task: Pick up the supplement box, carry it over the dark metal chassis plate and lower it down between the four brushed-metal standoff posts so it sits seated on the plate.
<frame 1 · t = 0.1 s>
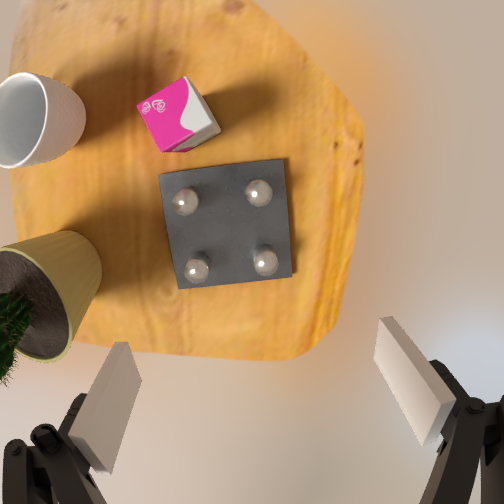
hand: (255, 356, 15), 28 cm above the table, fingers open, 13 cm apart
mug: (63, 119, 35), on the table
chassis: (227, 225, 41), on the table
potted cactus: (72, 265, 42), on the table
supplement box: (192, 123, 37), on the table
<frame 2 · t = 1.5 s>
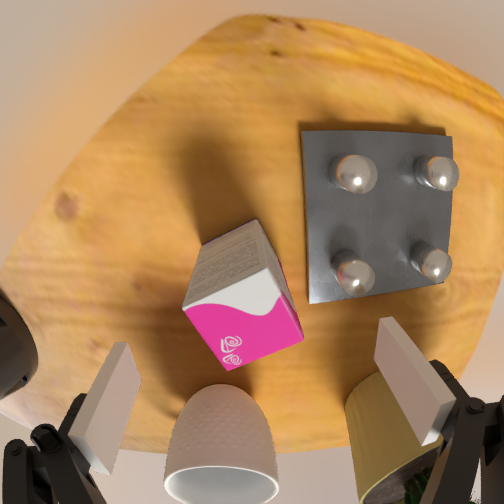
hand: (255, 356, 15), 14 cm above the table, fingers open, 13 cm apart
mug: (217, 405, 35), on the table
chassis: (384, 214, 28), on the table
potted cactus: (382, 395, 36), on the table
supplement box: (242, 257, 29), on the table
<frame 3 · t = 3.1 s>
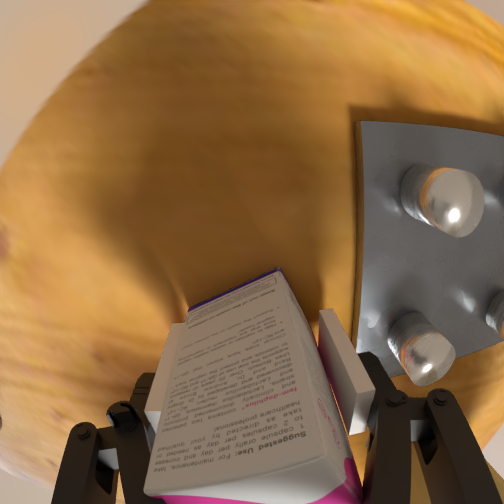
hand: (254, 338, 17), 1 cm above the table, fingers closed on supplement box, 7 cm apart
chassis: (462, 255, 17), on the table
potted cactus: (418, 458, 25), on the table
supplement box: (253, 325, 18), on the table, touching gripper
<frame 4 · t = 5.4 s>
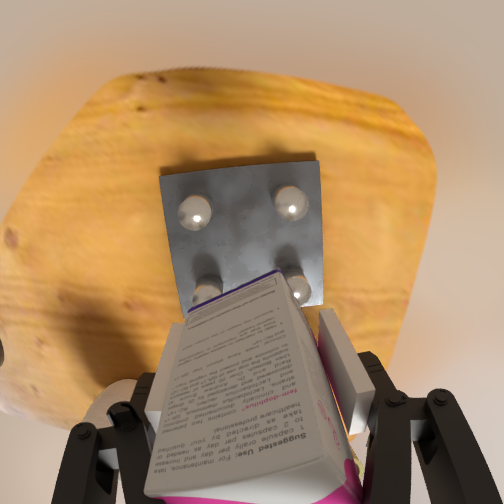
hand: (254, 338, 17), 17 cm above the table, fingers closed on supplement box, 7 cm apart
mug: (133, 397, 40), on the table
chassis: (246, 241, 33), on the table
supplement box: (253, 326, 18), point 16 cm above the table, touching gripper
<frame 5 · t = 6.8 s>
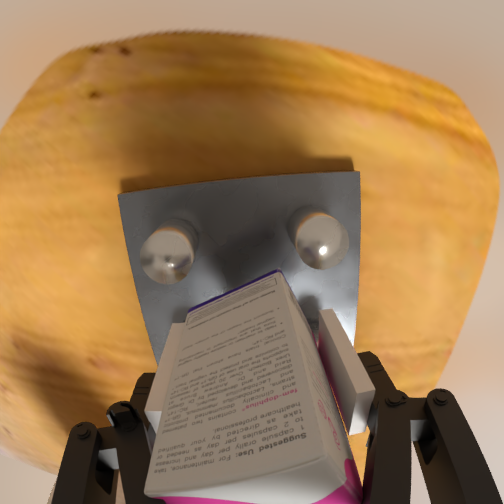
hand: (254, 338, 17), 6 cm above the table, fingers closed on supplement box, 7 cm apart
chassis: (248, 289, 23), on the table
supplement box: (253, 326, 18), point 5 cm above the table, touching gripper
when the fingers open (4 cm above the table, at t = 7.7 s): supplement box drops 1 cm, resting on chassis.
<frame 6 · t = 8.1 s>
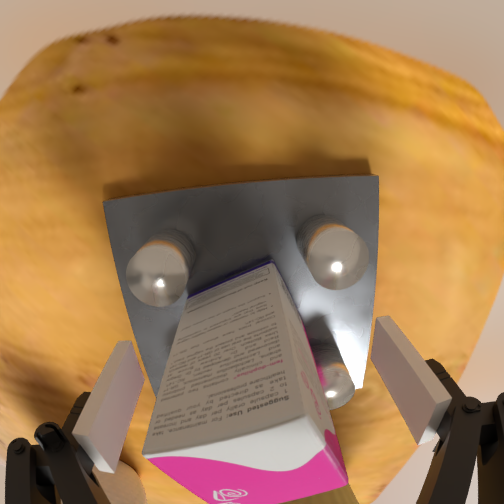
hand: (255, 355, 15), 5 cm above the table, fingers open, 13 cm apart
mug: (109, 469, 27), on the table
chassis: (251, 307, 20), on the table
potted cactus: (295, 482, 28), on the table
supplement box: (247, 314, 19), point 1 cm above the table, touching chassis
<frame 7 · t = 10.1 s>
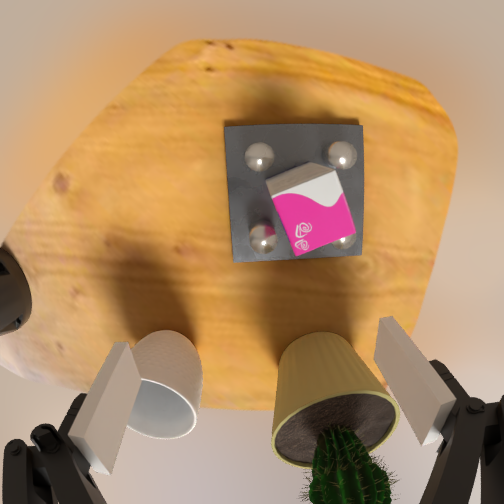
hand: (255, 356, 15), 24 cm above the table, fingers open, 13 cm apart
mug: (167, 351, 43), on the table
chassis: (297, 191, 36), on the table
potted cactus: (316, 361, 44), on the table
supplement box: (296, 193, 35), point 1 cm above the table, touching chassis
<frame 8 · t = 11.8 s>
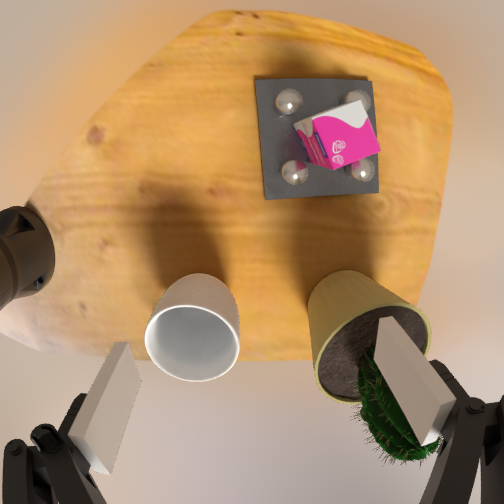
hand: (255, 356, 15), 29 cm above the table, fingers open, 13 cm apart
mug: (198, 299, 46), on the table
chassis: (319, 136, 39), on the table
potted cactus: (342, 302, 47), on the table
supplement box: (319, 136, 38), point 1 cm above the table, touching chassis
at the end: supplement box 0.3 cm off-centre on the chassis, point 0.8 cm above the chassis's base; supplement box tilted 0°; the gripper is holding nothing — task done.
